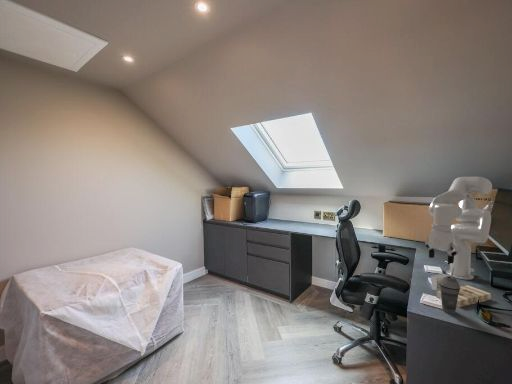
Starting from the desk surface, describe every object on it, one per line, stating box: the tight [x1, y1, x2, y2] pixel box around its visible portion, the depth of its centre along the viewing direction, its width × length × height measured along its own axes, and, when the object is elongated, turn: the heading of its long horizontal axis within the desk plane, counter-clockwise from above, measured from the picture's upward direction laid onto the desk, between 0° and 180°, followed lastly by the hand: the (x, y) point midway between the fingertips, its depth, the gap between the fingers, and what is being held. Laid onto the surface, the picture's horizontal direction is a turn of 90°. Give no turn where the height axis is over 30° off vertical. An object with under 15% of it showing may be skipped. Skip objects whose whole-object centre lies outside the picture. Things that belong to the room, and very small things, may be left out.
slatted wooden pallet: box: [436, 284, 492, 308], centre depth 118 cm, size 22×10×3 cm, turn 107°
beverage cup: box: [439, 268, 461, 315], centre depth 106 cm, size 7×7×20 cm
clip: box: [430, 273, 449, 292], centre depth 128 cm, size 10×3×7 cm, turn 107°
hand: (440, 260), depth 128 cm, fingers open, 9 cm apart
